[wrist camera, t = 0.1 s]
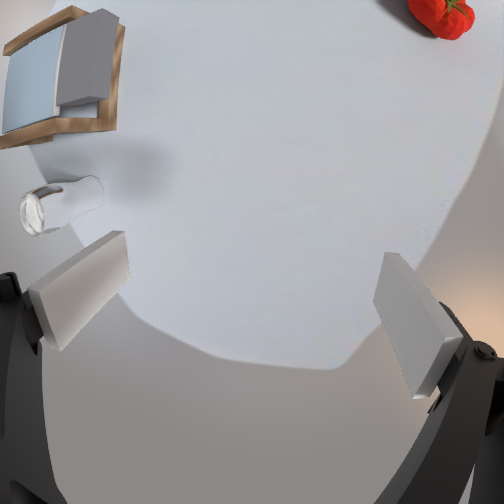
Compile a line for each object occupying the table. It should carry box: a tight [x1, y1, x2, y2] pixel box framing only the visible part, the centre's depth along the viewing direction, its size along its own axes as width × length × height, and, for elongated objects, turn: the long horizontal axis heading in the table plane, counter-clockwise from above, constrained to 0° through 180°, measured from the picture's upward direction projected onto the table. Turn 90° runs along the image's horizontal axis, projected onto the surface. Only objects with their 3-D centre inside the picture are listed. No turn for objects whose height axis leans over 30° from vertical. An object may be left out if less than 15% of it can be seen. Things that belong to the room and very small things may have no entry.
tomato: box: [408, 0, 475, 40], centre depth 21 cm, size 11×11×9 cm
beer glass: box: [18, 176, 104, 238], centre depth 36 cm, size 7×7×15 cm
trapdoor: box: [2, 8, 119, 134], centre depth 25 cm, size 14×22×4 cm, turn 87°
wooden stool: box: [0, 5, 125, 149], centre depth 30 cm, size 19×19×14 cm
